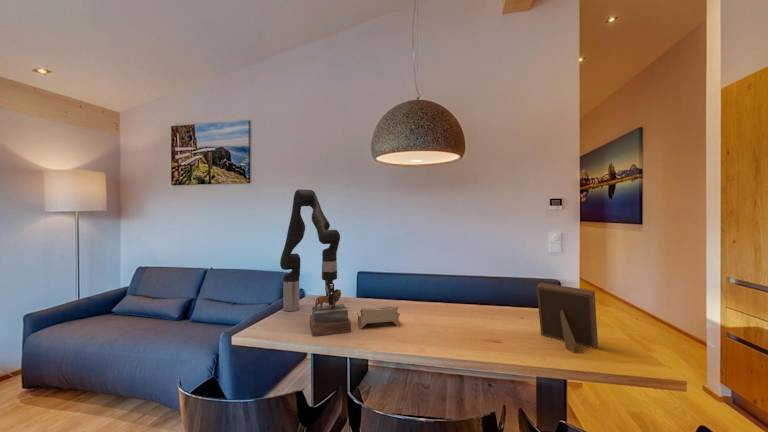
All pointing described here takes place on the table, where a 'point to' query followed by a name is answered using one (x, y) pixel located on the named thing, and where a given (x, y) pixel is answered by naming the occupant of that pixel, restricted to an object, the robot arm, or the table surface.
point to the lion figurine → (326, 299)
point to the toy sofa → (378, 316)
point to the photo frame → (568, 315)
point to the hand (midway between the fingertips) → (329, 302)
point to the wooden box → (330, 320)
